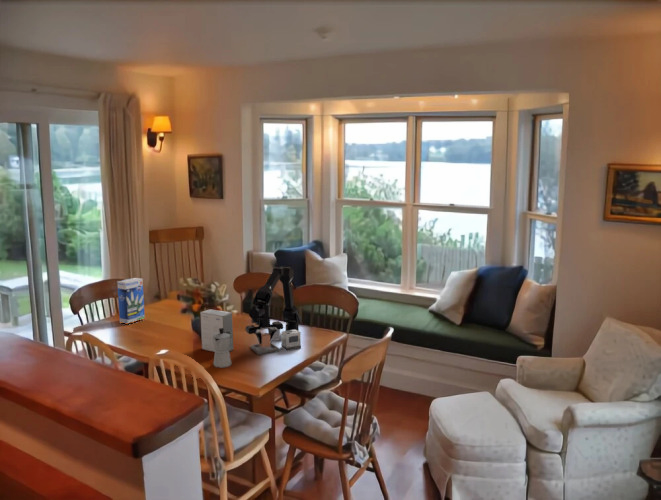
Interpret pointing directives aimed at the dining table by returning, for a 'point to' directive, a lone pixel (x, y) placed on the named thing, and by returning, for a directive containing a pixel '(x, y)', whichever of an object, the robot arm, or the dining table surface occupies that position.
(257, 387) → the dining table surface
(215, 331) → the hard drive box
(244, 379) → the dining table surface
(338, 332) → the dining table surface
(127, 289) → the string lights box
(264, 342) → the terracotta block
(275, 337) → the grey block
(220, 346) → the coffee maker
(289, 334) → the mounted unit
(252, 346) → the charcoal tray
